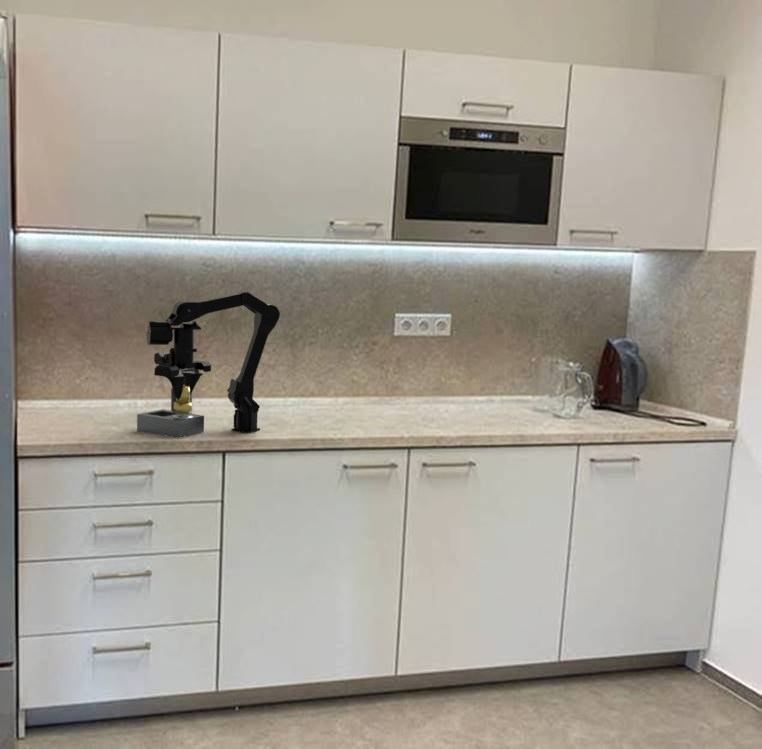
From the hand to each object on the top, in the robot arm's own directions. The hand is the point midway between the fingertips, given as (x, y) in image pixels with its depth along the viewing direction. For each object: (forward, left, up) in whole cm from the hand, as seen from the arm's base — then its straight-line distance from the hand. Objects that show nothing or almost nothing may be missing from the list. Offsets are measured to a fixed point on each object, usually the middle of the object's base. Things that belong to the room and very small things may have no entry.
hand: (183, 397), depth 254 cm
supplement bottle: (+21, -23, -11) cm, 33 cm away
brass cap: (0, 0, -4) cm, 4 cm away
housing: (+5, 0, -11) cm, 12 cm away
